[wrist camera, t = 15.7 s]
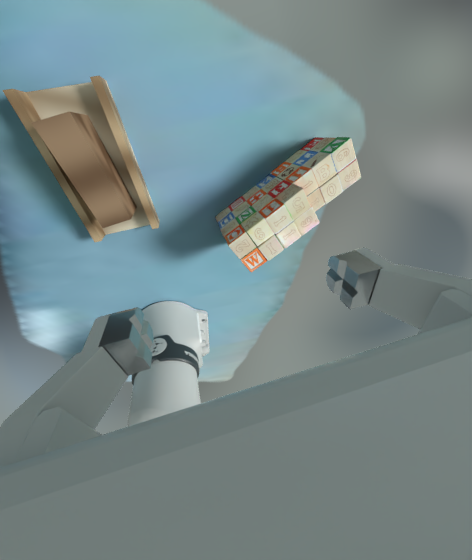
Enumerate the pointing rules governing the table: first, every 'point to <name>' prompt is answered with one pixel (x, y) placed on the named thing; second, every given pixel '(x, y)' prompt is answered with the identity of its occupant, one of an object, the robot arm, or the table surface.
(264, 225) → the stack of blocks
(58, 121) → the walnut block
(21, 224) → the table surface
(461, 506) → the robot arm
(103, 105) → the tan shallow tray
